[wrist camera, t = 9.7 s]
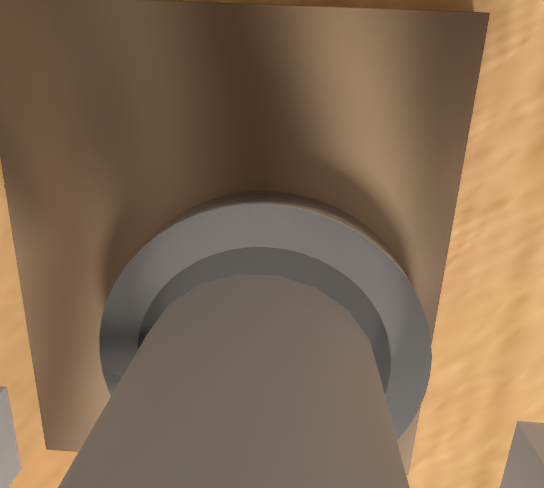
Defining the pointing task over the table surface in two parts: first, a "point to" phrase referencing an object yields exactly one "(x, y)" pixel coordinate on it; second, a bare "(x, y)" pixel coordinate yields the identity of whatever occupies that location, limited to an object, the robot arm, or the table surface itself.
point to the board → (215, 146)
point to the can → (246, 398)
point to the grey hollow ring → (284, 262)
